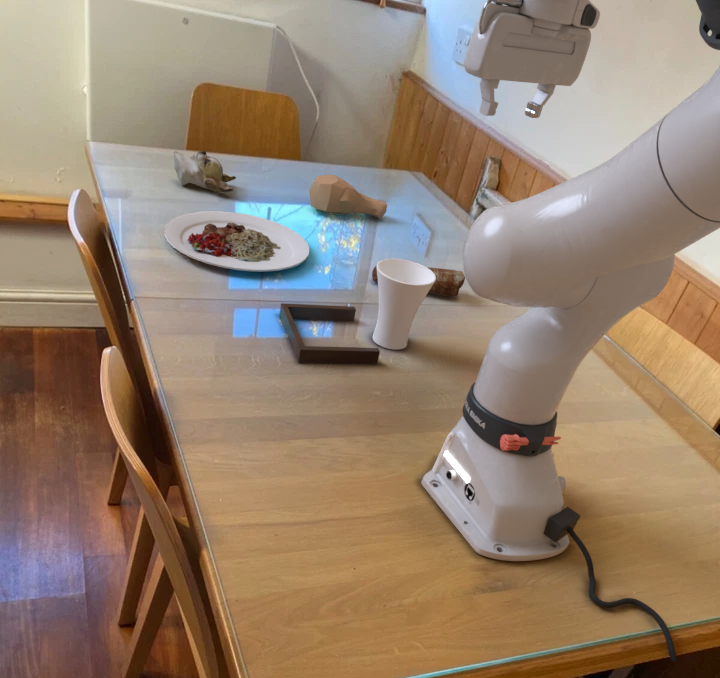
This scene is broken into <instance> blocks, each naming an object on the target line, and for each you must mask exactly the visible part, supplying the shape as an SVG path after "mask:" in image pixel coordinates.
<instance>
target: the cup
mask: <svg viewBox="0 0 720 678" xmlns="http://www.w3.org/2000/svg"><path fill="white" fill-rule="evenodd" d="M376 265H377V266H376ZM376 265H375V266H376V267H377V277H378V283H377V288H378V313H377V320H376V324H375V328H374V331H373V334H372V341H373V342H374V343H375V344H377V345H378V346H380V347H381V348H385V349H388V350H393V351H394V350H397V351H398V350H403V349H405V348H406V347H407V346H408V341H409V333H410V330H411V328H412V325H413V322H414V320H415V316H416V314H417V312H418V310H419V308H420V306H421V305H422V303H423V301H424V300H425V298H426V297H427V295H428V292H429V290H430V289H431V287H432V285H433V284H434V282H435V281H436V276H435V274H434V273H433V272H432V271H431V270H430V269H428V268H429V267H428V268H427V266H425V265H423V264H421V263H418V262H416V261H414V260H413V261H412V260H409V259H402V258H384V259H381V260H379V261H378V262H376Z"/></svg>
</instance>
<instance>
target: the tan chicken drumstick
mask: <svg viewBox="0 0 720 678" xmlns="http://www.w3.org/2000/svg"><path fill="white" fill-rule="evenodd" d="M309 201H310V207H312V208H313V209H316V210H317V211H319V212H321V213H326V214H332V215H340V216H341V215H342V216H347V215H353V214H359V215H360V214H361V215H366V216H367V215H368V216H372V217H374V218H376V219H382V218H383V217H384V216H385V214H386V213H387V207H388V204H387V203H386V202H385V201H383V200H380V199H375V198H373V197H369V196H366V195H365V194H362V193H361V192H359V191H358V190H357V189H356V188H355V187H354V186H353V185H351V184H350V183H349V182H348V181H346V180H345V179H343V178H341V177H339V176H338V175H336V174H322V175H317V176H316V177H315V178H314V180H313V182H312V184H311V185H310V187H309Z"/></svg>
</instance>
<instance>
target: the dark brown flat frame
mask: <svg viewBox="0 0 720 678" xmlns="http://www.w3.org/2000/svg"><path fill="white" fill-rule="evenodd" d="M356 312H357V308H356V307H355V306H348V305H347V306H346V305H325V304H304V303H285V302H284V303H283V302H281V303H280V308H279V318H280V321H281V323H282V327H283V329H284V331H285V333H286V336H287V338H288V340H289V343H290V346H291V348H292V350H293V353H294V355H295V358H296V361H297V362H298V363H299V364H300V363H301V364H350V365H351V364H357V365H378V361H379V357H380V353H381V351H380V349H379V347H358V346H357V347H354V346H320V345H319V346H317V345H315V346H314V345H313V346H312V345H305V344H304V341H303V339H302V337H301V335H300V332H299V330H298V327H297V325H296V323H295V320H300V321H324V322H325V321H327V322H330V321H331V322H349V323H350V322H352V323H354V321H355V316H356Z"/></svg>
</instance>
